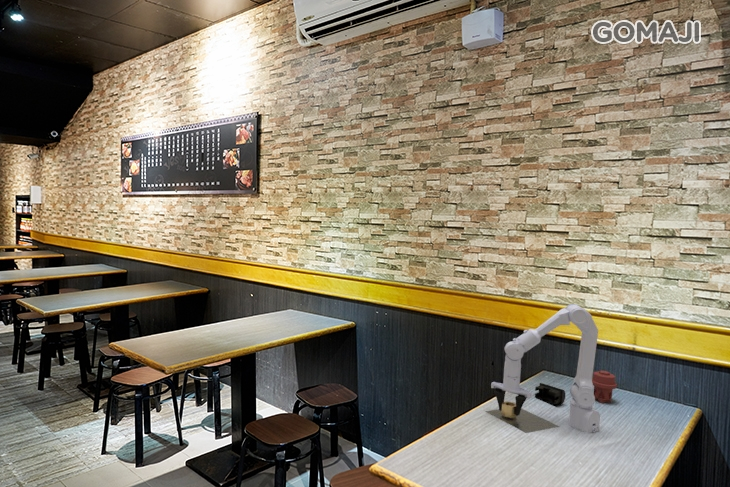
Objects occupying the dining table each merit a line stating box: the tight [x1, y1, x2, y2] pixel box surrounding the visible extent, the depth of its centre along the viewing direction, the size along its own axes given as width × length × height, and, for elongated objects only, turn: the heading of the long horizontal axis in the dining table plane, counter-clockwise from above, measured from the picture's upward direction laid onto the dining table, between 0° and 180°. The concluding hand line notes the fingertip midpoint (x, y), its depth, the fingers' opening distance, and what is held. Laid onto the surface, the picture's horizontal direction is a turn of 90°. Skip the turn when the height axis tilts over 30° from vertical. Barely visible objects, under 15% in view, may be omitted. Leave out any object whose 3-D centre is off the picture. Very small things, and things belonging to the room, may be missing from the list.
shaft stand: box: [485, 405, 560, 434], centre depth 174 cm, size 20×16×6 cm
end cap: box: [534, 382, 566, 408], centre depth 198 cm, size 10×7×7 cm
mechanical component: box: [592, 370, 618, 404], centre depth 204 cm, size 12×10×10 cm
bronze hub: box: [501, 400, 517, 418], centre depth 175 cm, size 5×5×4 cm
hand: (509, 412), depth 175 cm, fingers closed on bronze hub, 6 cm apart
